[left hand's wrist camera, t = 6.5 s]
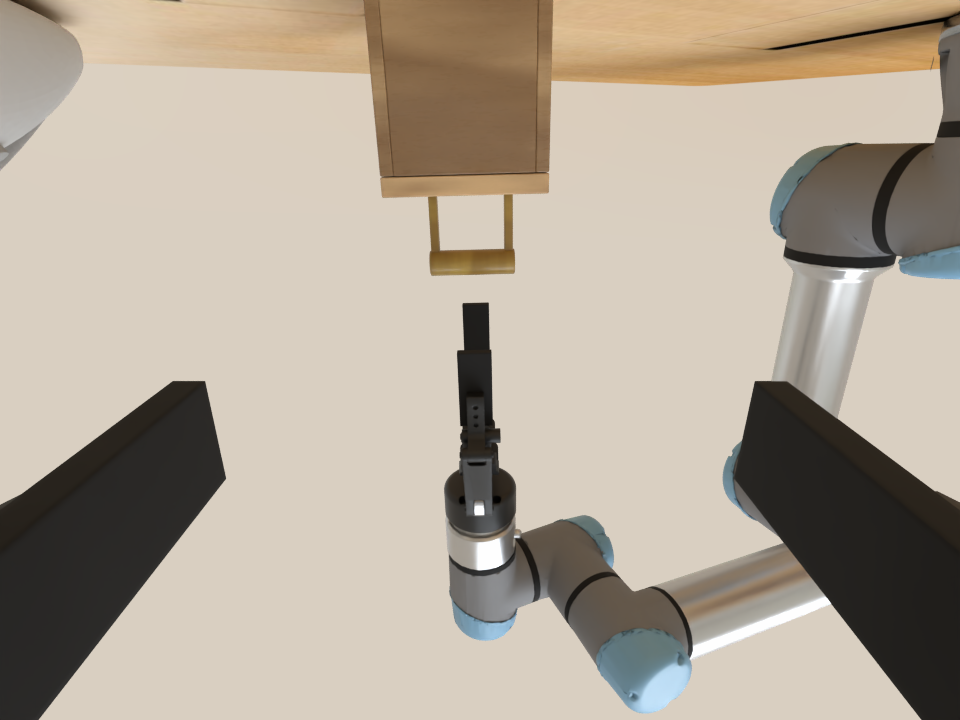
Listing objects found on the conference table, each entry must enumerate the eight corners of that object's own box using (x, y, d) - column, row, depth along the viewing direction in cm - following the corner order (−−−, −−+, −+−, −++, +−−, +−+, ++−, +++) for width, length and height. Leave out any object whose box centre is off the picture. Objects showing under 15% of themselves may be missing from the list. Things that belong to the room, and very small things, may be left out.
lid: (524, 163, 45) (523, 266, 48) (415, 166, 45) (422, 269, 48) (549, 172, 29) (545, 326, 32) (380, 177, 29) (394, 329, 32)
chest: (525, 8, 40) (524, 163, 44) (404, 12, 40) (415, 166, 44) (555, -79, 24) (549, 172, 29) (356, -73, 25) (379, 176, 29)
